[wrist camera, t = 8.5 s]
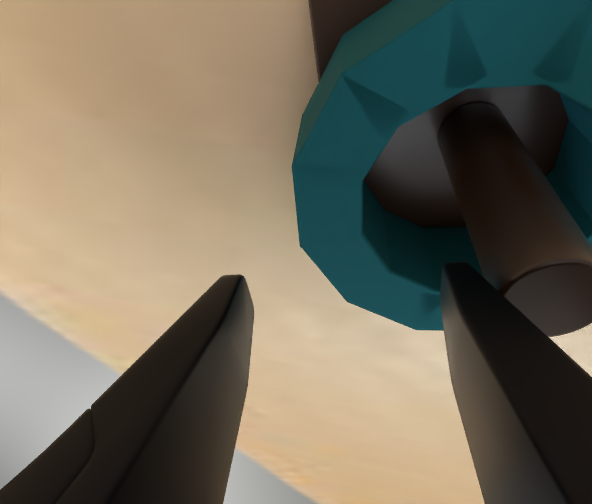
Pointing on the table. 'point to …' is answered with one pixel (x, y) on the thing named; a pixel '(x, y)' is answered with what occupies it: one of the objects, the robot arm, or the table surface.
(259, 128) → the table surface
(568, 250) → the peg stand
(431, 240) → the ring
